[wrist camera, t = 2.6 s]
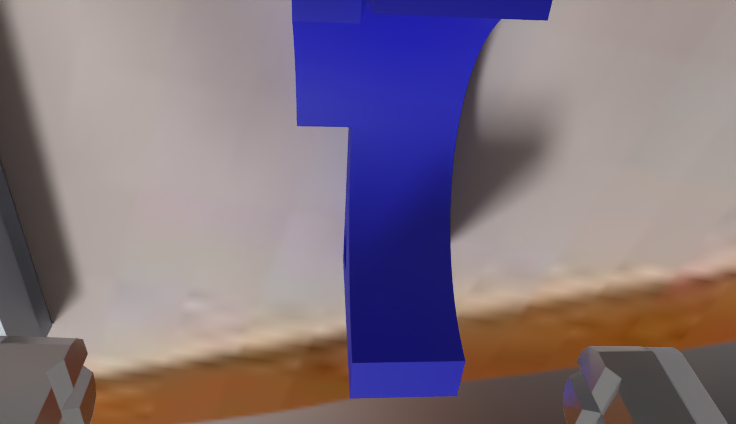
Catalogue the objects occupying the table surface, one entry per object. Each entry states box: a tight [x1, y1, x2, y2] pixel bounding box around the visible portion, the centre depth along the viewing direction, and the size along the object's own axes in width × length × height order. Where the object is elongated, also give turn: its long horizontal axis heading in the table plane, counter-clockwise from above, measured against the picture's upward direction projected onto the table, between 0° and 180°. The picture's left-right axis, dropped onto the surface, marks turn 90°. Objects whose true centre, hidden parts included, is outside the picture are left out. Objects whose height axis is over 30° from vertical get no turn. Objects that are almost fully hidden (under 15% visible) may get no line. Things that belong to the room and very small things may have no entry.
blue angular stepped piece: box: [292, 0, 552, 398], centre depth 15 cm, size 12×4×6 cm, turn 177°
